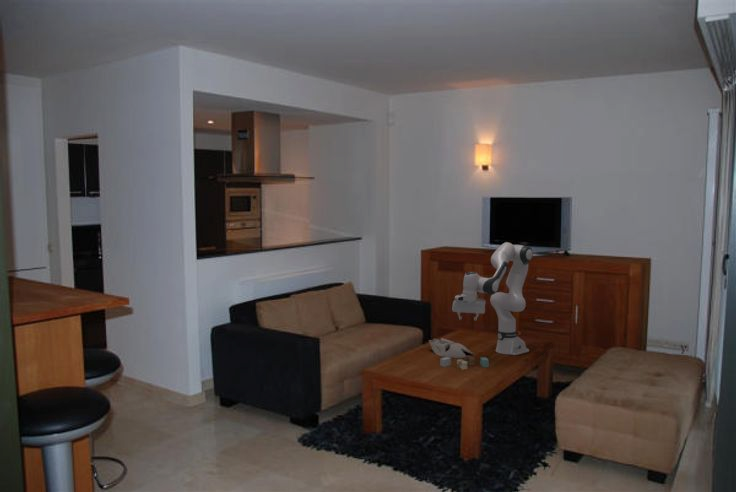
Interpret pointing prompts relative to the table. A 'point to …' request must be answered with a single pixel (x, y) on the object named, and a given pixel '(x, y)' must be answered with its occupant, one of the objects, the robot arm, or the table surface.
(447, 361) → the grey block
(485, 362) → the teal block
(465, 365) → the maple block
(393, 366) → the table surface
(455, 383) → the table surface
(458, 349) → the mask
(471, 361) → the walnut block
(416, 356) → the table surface
